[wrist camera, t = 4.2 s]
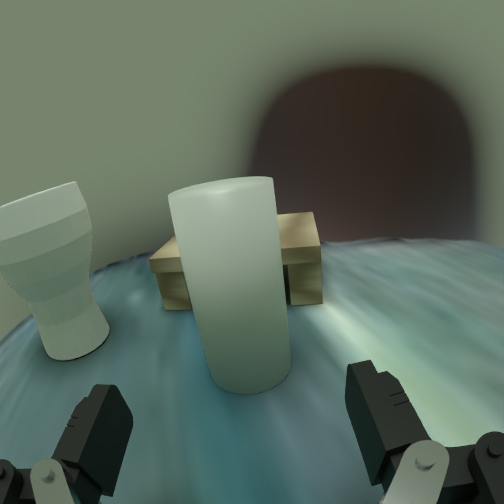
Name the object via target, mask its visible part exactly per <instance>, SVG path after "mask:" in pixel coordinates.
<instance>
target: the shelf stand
mask: <svg viewBox="0 0 504 504" xmlns="http://www.w3.org/2000/svg"><path fill="white" fill-rule="evenodd" d="M277 220H278V229H279V238H280V247H281V257H282V265H285V264H287V265H288V275H289V286H290V297H291V306H292V305H307V304H321V303H323V300H322V273H321V248H320V242H319V237H318V234H317V229H316V225H315V221H314V216H313V212H307V213H294V214H284V215H277ZM149 262H150V265H151V269H152V273H155V275H156V278H157V282H158V286H159V289H160V293H161V296H162V300H163V303H164V307H165V310H192V304H191V300H190V296H189V292H188V288H187V284H186V280H185V275H184V271H183V267H182V262H181V258H180V253H179V249H178V244H177V240H176V235H175V236H174V237H173V238H172V239H170V240H169V241H168V242H167V243H166V244H165V245H164V246H163V247H162V248H161V249H159V250H158V251H157V252H156V253H155V254H154V255H153V256H152V257H151V258H150V259H149Z"/></svg>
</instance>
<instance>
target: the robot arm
mask: <svg viewBox="0 0 504 504" xmlns="http://www.w3.org/2000/svg"><path fill="white" fill-rule="evenodd" d="M345 403H346V408H347V412H348V415H349V418H350V421H351V424H352V427H353V429H354V432H355V435H356V438H357V441H358V445H359V448H360V451H361V454H362V457H363V460H364V463H365V466H366V469H367V472H368V475H369V479H370V482H371V485H372V486H374V485H377V484H381V483H382V486H383V489H384V494H383V496H382V498H381V500H380V502H379V504H504V433H501V432H496V431H495V432H489V433H486V434H484V435H483V436H482V437H480V439H479V440H478V441H477V443H476V444H473V445H467V446H460V447H444V446H443V445H442V444H440V443H438V442H436V441H433V440H432V439H431V438H430V437H429V436H428V434H427V432H426V430H425V428H424V426H423V424H422V423H421V421H420V419H419V417H418V415H417V413H416V411H415V409H414V408H413V406H412V404H411V402H409V398H408V397H407V395H406V393H404V389H403V388H402V386H401V384H400V382H399V380H398V379H397V378H395V377H394V376H393V375H391V374H390V373H389V372H387V371H385V372H381V373H377V371H376V369H375V367H374V365H373V363H372V361H371V360H366V361H362V362H358V363H353V364H348V366H347V376H346V388H345ZM132 428H133V416H132V413H131V411H130V409H129V407H128V406H127V404H126V402H125V400H124V399H123V397H122V395H121V393H120V391H119V389H118V388H117V387H116V386H115V385H102V384H96V385H94V386H93V388H92V390H91V392H90V394H89V396H88V397H85V398H84V399H83V400H82V401H81V402H80V403H79V404H78V405H77V406H76V407H75V409H74V411H73V413H72V415H71V419H69V422H68V424H67V427H66V428H65V430H64V432H63V434H62V436H61V438H60V440H59V443H58V445H57V447H56V449H55V451H54V453H53V456H52V457H51V459H49V458H48V459H43V460H40V461H39V462H37V463H36V464H35V465H34V466H33V468H32V469H16V468H15V467H14V466H13V465H12V464H11V463H10V462H9V461H7V460H4V459H1V460H0V504H102V503H101V502H100V501H99V500H100V496H101V495H105V496H110V497H113V493H114V490H115V486H116V482H117V479H118V475H119V472H120V468H121V465H122V461H123V458H124V454H125V451H126V448H127V444H128V441H129V438H130V434H131V431H132Z"/></svg>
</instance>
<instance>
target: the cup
mask: <svg viewBox="0 0 504 504" xmlns="http://www.w3.org/2000/svg"><path fill="white" fill-rule="evenodd" d="M91 253H92V226H91V222H90V217H89V213H88V208H87V205H86V203H85V201H84V199H83V196H82V194H81V192H80V190H79V188H78V185H77V183H76V182H75V181H74V182H70V183H67V184H64V185H60V186H57V187H54V188H51V189H48V190H44V191H42V192H38V193H36V194H33V195H30V196H27V197H24V198H21V199H18V200H16V201H13V202H10V203H8V204H5V205H3V206H0V273H1V274H2V276H3V277H4V279H5V280H6V282H7V283H8V285H9V286H10V287H11V288H12V289H13V290H14V291H15V292H16V293H17V294H18V295H20V296H21V297H22V298H23V299H24V300H25V302H26V303H27V306H28V307H29V309H30V311H31V313H32V314H33V316H34V318H35V319H36V322H37V325H38V329H39V332H40V336H41V339H42V342H43V345H44V347H45V350H46V352H47V354H48V356H49V357H51V358H53V359H56V360H70V359H75V358H78V357H81V356H83V355H86V354H88V353H89V352H91V351H93V350H94V349H96V348H97V347H98V346H99V345H101V344H102V343H103V342H104V340H105V339H106V338H107V336H108V334H109V328H110V327H109V325H108V323H107V321H106V319H105V317H104V315H103V313H102V312H101V310H100V308H99V306H98V305H97V303H96V301H95V299H94V298H93V294H92V289H91V284H90V279H89V274H88V273H89V266H90V259H91Z"/></svg>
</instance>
